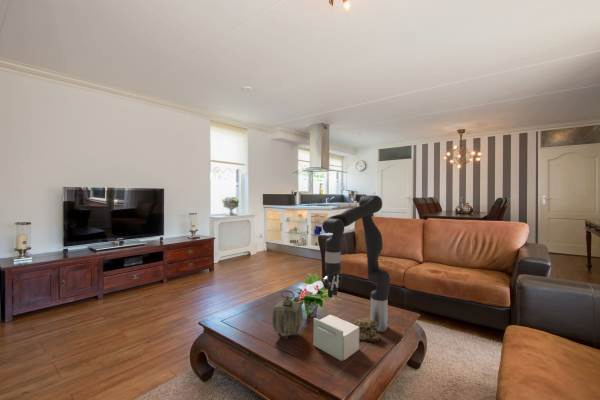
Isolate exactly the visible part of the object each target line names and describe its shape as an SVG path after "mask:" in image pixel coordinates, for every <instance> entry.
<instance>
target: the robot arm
mask: <svg viewBox="0 0 600 400" xmlns="http://www.w3.org/2000/svg"><path fill="white" fill-rule="evenodd" d="M382 207H383V200H382V198H381V197H380V196H378V195H375V194H374V195H370V194H369V195H362V196H361V197H360V199H359V201H358V205H357V206H354V207H351V208H348V209H346V210H344V211H343V212H341V213H339V214H335V215H331V216H329V217H326V218H325V219H324V221H323V222H322V230H323V231H324V232H325V233H328V234H332V236H331V237H329V238H326V240H325V254H324V270H325V272H326V273H325V277H322V278H321V282H322V285H323V287H324V289H325V290H327V296H328V298H331V299H332V298H333V296H335V297H336V296H338V288H339V287H340V286H341V284H342V280H343V276H344V273H342V272H341V270H342V268H341V267H342V263H341V262H342V252H341V248H342V247H341V246H342V245H341V244H342V243H341V242H342V239H343V235H344V231H345V228H346V227H348V226H350V225H352V224H353V223H355V222H357V221H358V220H362V226H363V233H364V241H365V243H364V244H365V251H366V258H367V261H366V262H367V279H368V281H369V282H370V283H371V284H373V285H374V286H376V289H374V290H372V291H371V292H370V304H369V305H370V308H369V310H370V313H369V315H370V316H369V318H370V319H371V320H373V321H376V322H377V332H378V333H379V332H386V331H387V330H388V317H389V316H388V314H389V311H388V299H389V294H390V287H391V285H390V283H391V276H390V274H389V272H388V271H386V270H383V269H381V268H380V265H379V257H380V255H381V254H382V253H381V252H382V250H383V245H384V244H383V237H382V236H383V235H382V233H381V231H380V230H379V227H378V226H377V225H376V223H375V222H374V220H373V217H372V215H373V214H375V213H378V212H380V211H381V209H382Z"/></svg>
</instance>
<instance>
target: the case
mask: <svg viewBox="0 0 600 400" xmlns="http://www.w3.org/2000/svg"><path fill="white" fill-rule="evenodd" d="M319 320H321V321H323V322H325V323H327V324H330V325H332V326H334V327H336V328H338V329H340V330H343V360H342V361H345V360H346V359H348V358H349V357H351V356H352V355H353V354H355V353H357V352H358V351H359V350H360V339H359V327H358V326H356V325H354V324H353V323H351V322H349V321H347V320H344V319H341V318H339V317H337V316H335V315H333V314H328V315H327V316H324V317H322V318H321V319H319Z"/></svg>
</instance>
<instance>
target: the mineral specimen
mask: <svg viewBox="0 0 600 400" xmlns="http://www.w3.org/2000/svg"><path fill="white" fill-rule="evenodd" d="M352 324H354V325H356V326H358V327H359V341H361V340H362V341H367V342H370V343H371V342H372V343H374V342H379V340H380V336H379V335H378V331H377V322H376V321H373V320H371V319H370V317H362V318H357V319H355V320H354V321H353V322H352Z"/></svg>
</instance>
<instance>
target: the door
mask: <svg viewBox="0 0 600 400" xmlns="http://www.w3.org/2000/svg"><path fill="white" fill-rule="evenodd" d="M312 336H313V339H312V340H313V342H312V344H313V346H314V347H316V348H318V349H320V350H321V351H323V352H325V353H326V354H329V355H331V356H332V357H334V358H335V359H337V360H339V361H341V362H342V361H344V360H343V330H340V329H338V328H336V327H334V326H332V325H330V324H327V323H325V322H323V321H321V320H320V319H318V318H317V317H314V318H313V335H312Z"/></svg>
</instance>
